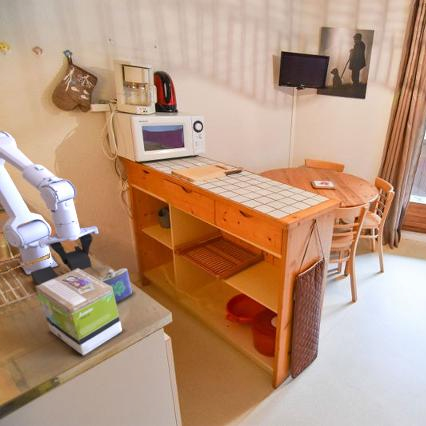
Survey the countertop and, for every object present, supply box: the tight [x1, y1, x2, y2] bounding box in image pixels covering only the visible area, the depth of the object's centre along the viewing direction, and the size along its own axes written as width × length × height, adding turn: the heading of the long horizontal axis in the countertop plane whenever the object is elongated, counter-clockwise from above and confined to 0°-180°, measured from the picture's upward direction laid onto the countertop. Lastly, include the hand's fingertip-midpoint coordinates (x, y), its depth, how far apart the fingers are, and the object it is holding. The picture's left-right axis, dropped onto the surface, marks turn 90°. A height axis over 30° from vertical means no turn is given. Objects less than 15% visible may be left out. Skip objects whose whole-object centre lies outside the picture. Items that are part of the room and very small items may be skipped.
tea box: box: [35, 268, 123, 356], centre depth 79 cm, size 15×10×15 cm
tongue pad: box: [30, 266, 60, 286], centre depth 97 cm, size 12×5×4 cm, turn 51°
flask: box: [97, 267, 133, 305], centre depth 92 cm, size 9×3×11 cm, turn 148°
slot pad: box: [64, 245, 93, 271], centre depth 100 cm, size 10×5×4 cm, turn 51°
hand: (75, 259), depth 100 cm, fingers closed on slot pad, 5 cm apart
